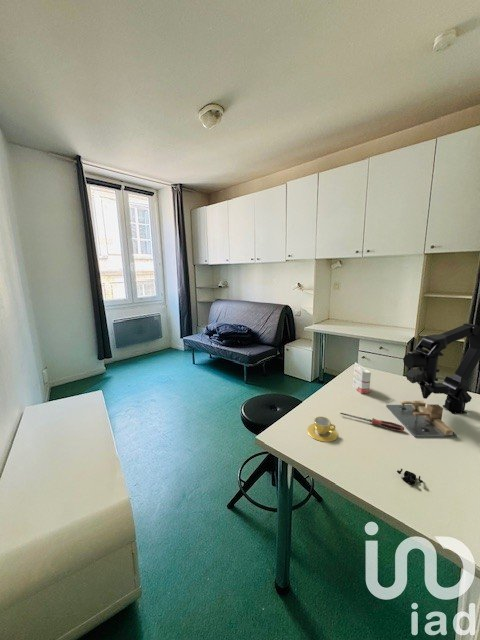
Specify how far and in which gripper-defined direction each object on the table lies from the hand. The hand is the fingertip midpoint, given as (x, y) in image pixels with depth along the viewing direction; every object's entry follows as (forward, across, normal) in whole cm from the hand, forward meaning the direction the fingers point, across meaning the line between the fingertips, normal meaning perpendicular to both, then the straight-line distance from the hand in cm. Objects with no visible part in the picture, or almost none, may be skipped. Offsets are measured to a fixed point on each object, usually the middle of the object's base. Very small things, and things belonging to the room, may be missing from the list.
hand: (424, 398), depth 114 cm
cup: (+8, +13, -48) cm, 50 cm away
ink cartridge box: (+8, -23, -18) cm, 30 cm away
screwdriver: (+8, +7, -26) cm, 28 cm away
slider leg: (+6, +7, -3) cm, 10 cm away
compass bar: (+7, +5, -3) cm, 9 cm away
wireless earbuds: (+8, +36, -27) cm, 46 cm away
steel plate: (+8, +5, -5) cm, 11 cm away
